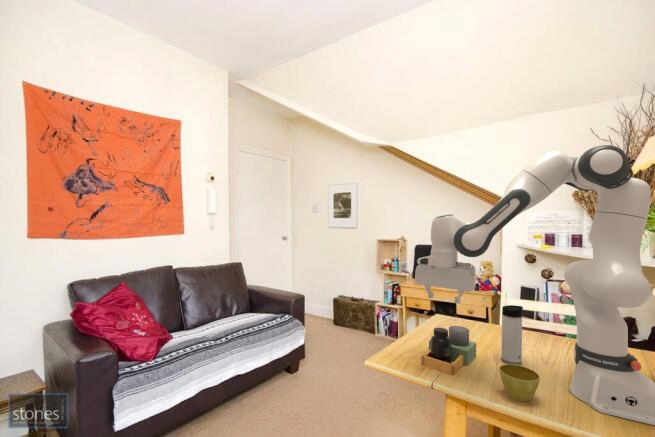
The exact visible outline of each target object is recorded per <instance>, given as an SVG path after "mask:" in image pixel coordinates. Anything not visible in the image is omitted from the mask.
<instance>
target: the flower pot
mask: <svg viewBox="0 0 655 437" xmlns="http://www.w3.org/2000/svg"><path fill="white" fill-rule="evenodd" d="M498 370H499V375H500V378H501V379H500V380H501V382H502V384H503V386H504V390H505V391H506V392H507V394H508V396H510V398H512V399H513V400H516V401H519V402H528V401H529V400H531V398H532V397H533V396H534V395H535V393H536V392H537V390H538V387H539V384H540V380H541V376H540V374H539V373H538V372H537V371H535V370H534V369H531V368H529V367H526V366H524V365H521V364H520V365H514V364H507V363H504V364H501V365H499V368H498ZM532 399H533V398H532Z"/></svg>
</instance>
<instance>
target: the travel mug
mask: <svg viewBox="0 0 655 437" xmlns="http://www.w3.org/2000/svg"><path fill="white" fill-rule="evenodd" d="M523 310H524V307H523V306H522V305H514V304H512V305H509V304H508V305H503V306H502V310H501V312H502V313H501V358H500V360H501V361H502V362H504V364H514V365H520V366H521V365H522V359H523V358H522V355H523V354H522V352H523V349H522V348H523V344H522V343H523Z"/></svg>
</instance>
